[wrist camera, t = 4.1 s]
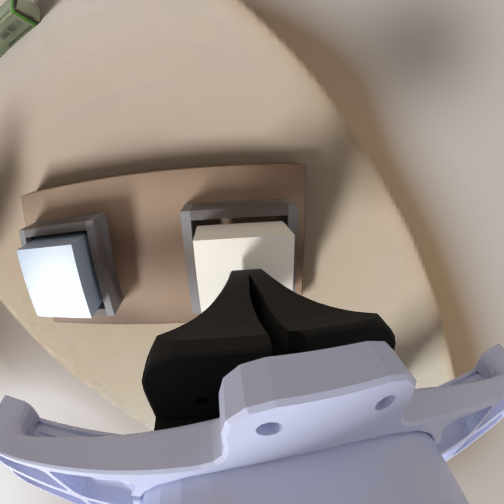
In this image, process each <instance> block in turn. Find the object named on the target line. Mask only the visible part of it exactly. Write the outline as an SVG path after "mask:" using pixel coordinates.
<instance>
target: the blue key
mask: <svg viewBox="0 0 504 504" xmlns="http://www.w3.org/2000/svg"><path fill="white" fill-rule="evenodd" d="M16 251H17V255H18V258H19V262H20V266H21V269H22V273H23V276H24V279H25V282H26V285H27V288H28V291H29V294H30V297H31V300H32V303H33V305H34V308H35V311H36V313H37V316H45V317H68V318H92V317H93V315H94V314H95V312H96V311H97V309H98V307H99V306H100V304H101V303H102V301H103V299H102V295H101V291H100V288H99V284H98V280H97V276H96V272H95V268H94V264H93V259H92V255H91V250H90V245H89V240H88V235H87V231H86V232H77V233H68V234H60V235H51V236H44V237H37V238H35V239H33V240H32V241H30V242H29V243H27V244H25V245H24V246H22V247H21V248H19V249H18V250H16Z"/></svg>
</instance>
